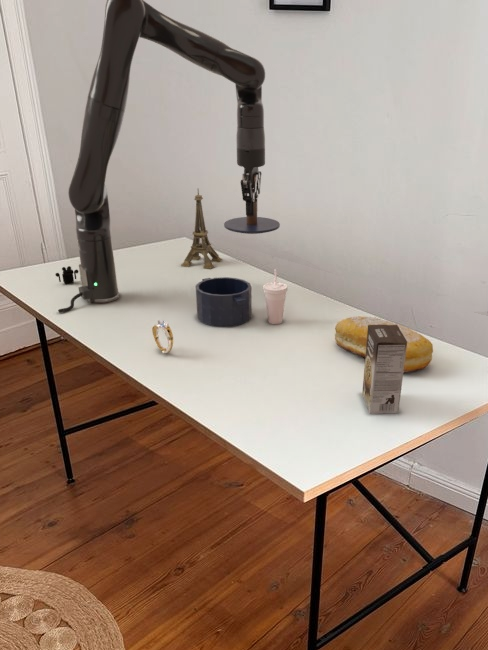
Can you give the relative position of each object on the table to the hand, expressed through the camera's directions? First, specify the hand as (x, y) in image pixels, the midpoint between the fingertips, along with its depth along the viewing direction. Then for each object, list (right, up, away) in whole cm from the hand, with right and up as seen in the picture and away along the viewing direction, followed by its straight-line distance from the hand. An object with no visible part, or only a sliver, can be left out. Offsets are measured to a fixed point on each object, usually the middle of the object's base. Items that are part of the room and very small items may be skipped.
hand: (251, 213), depth 190 cm
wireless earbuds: (-56, -15, +18) cm, 60 cm away
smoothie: (+7, -31, -6) cm, 33 cm away
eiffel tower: (-18, -2, +36) cm, 40 cm away
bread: (+32, -44, -23) cm, 59 cm away
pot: (-7, -29, -3) cm, 30 cm away
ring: (-20, -43, -23) cm, 53 cm away
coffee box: (+29, -58, -43) cm, 78 cm away
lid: (0, -3, +2) cm, 3 cm away
